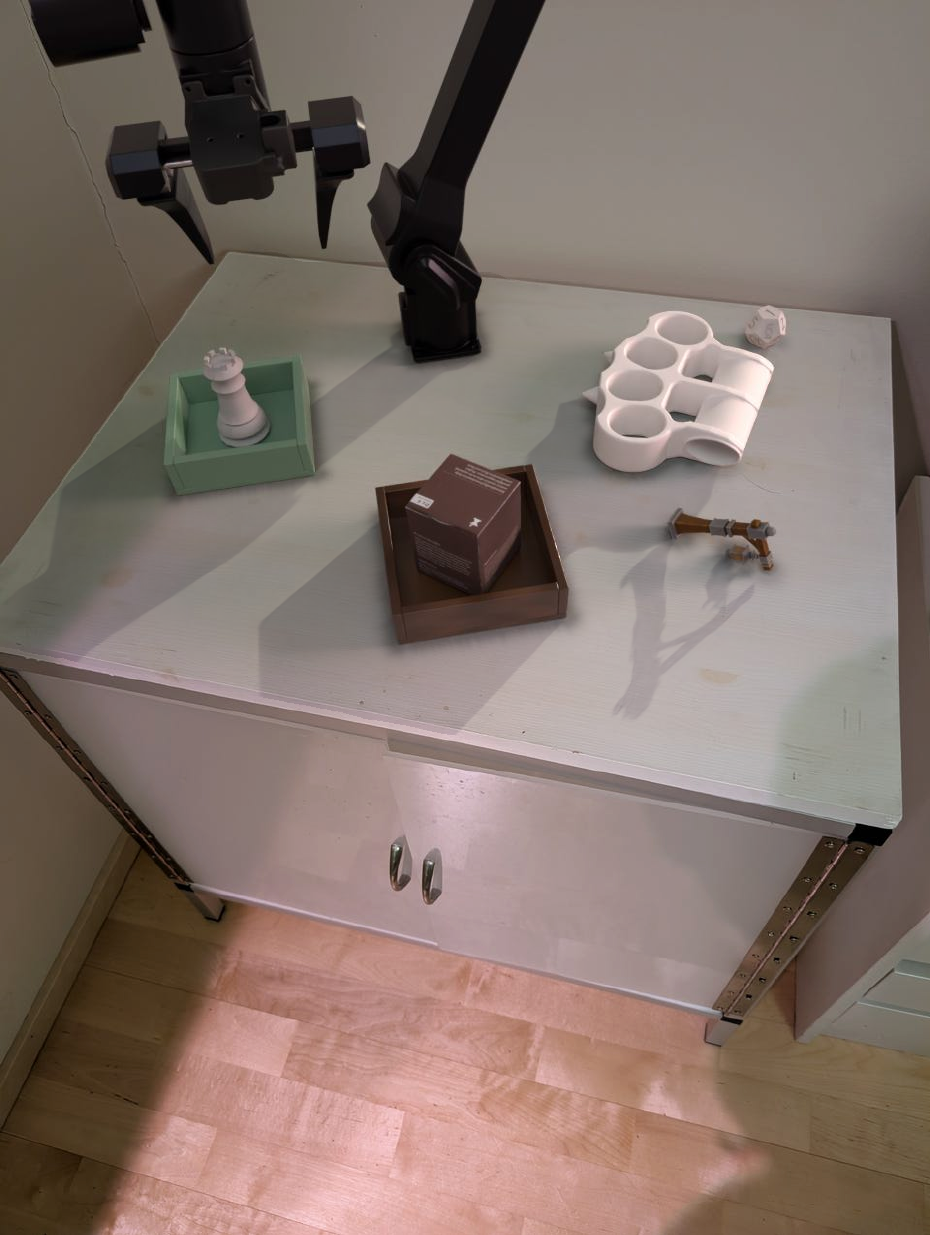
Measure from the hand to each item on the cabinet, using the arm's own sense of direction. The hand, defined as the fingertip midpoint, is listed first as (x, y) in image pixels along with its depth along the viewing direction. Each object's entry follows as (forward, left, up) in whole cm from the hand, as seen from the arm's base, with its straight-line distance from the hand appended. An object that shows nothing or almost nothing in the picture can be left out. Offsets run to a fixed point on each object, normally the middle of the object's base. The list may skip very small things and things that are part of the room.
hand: (268, 254), depth 69 cm
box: (-12, +26, -12) cm, 31 cm away
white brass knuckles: (-32, +12, -12) cm, 36 cm away
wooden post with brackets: (-31, +28, -12) cm, 44 cm away
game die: (-43, +5, -12) cm, 45 cm away
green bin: (+5, +8, -12) cm, 15 cm away
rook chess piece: (+5, +8, -12) cm, 15 cm away
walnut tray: (-12, +26, -12) cm, 31 cm away
